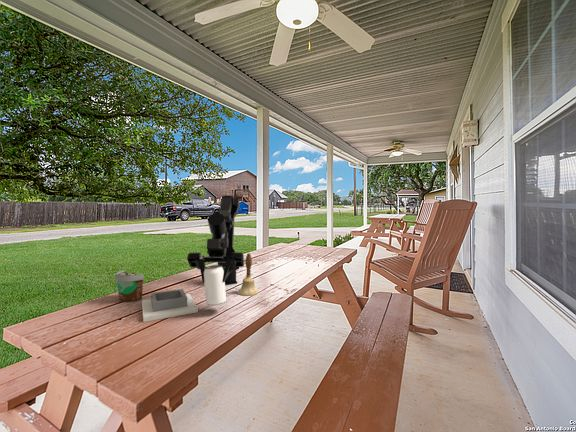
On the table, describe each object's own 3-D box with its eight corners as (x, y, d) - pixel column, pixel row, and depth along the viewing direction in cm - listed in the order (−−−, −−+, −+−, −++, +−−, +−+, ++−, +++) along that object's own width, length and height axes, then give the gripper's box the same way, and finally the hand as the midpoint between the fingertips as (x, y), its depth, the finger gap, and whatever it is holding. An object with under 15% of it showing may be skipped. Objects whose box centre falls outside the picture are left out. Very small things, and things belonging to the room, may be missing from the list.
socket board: (189, 297, 106) (189, 285, 105) (197, 312, 92) (197, 298, 92) (142, 304, 98) (141, 292, 98) (143, 322, 84) (143, 307, 84)
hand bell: (260, 289, 116) (260, 251, 115) (256, 296, 108) (256, 255, 107) (240, 288, 117) (240, 251, 116) (235, 295, 108) (235, 255, 108)
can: (224, 304, 89) (220, 267, 89) (203, 306, 89) (200, 269, 89) (228, 298, 95) (225, 264, 95) (209, 300, 95) (206, 265, 95)
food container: (107, 299, 103) (107, 273, 102) (124, 294, 108) (123, 269, 108) (128, 305, 97) (127, 277, 96) (144, 300, 102) (144, 273, 102)
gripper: (188, 229, 94) (178, 269, 84) (243, 229, 95) (240, 268, 85) (194, 248, 102) (186, 286, 92) (245, 247, 104) (242, 285, 94)
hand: (213, 281), depth 91 cm, fingers closed on can, 6 cm apart
